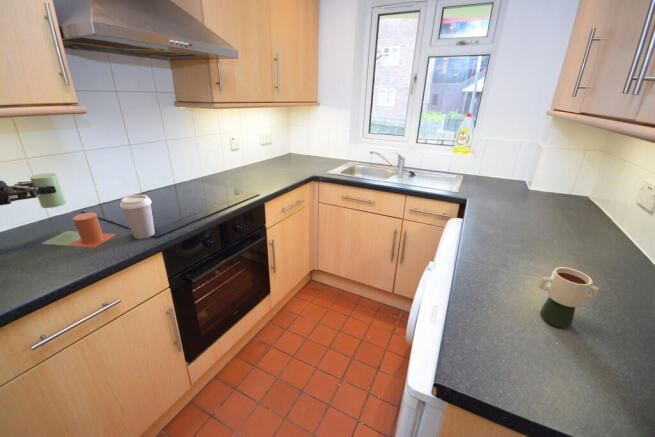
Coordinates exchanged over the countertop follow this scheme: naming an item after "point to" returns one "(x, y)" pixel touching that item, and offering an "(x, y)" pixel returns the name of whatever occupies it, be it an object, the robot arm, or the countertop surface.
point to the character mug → (565, 295)
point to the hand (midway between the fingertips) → (56, 186)
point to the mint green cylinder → (52, 198)
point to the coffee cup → (139, 215)
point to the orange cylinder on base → (88, 228)
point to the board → (74, 239)
